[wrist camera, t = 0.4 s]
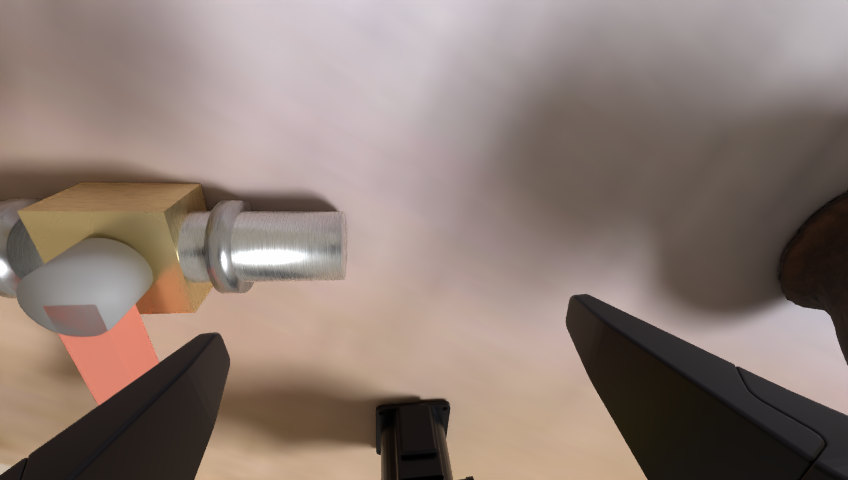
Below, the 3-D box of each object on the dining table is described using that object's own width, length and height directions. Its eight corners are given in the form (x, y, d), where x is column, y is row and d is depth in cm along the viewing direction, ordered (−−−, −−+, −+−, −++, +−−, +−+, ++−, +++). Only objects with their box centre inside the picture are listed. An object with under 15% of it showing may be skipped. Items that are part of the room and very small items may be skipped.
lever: (210, 433, 24) (179, 504, 20) (151, 438, 23) (108, 511, 19) (139, 237, 17) (72, 290, 13) (53, 238, 16) (-42, 292, 12)
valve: (349, 265, 24) (343, 314, 20) (-19, 271, 21) (-125, 330, 17) (345, 182, 22) (336, 217, 17) (-79, 176, 19) (-225, 216, 14)
